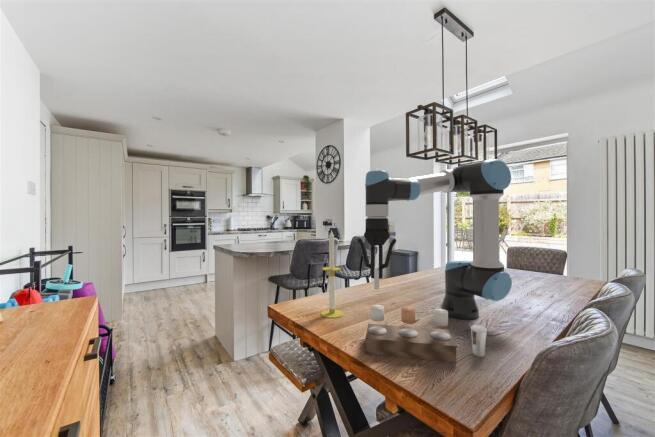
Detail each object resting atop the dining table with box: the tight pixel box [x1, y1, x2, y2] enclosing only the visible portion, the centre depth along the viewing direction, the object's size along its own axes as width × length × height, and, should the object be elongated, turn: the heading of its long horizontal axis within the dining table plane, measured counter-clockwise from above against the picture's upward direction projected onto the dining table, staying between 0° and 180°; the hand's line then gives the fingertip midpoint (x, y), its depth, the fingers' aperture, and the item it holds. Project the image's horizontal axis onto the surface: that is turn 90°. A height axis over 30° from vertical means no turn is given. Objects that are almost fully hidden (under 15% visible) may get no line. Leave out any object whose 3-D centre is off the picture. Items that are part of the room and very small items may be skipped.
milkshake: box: [468, 323, 488, 358], centre depth 90 cm, size 4×5×10 cm
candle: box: [320, 229, 344, 319], centre depth 126 cm, size 10×10×38 cm
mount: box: [364, 323, 457, 364], centre depth 94 cm, size 27×12×5 cm, turn 77°
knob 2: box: [432, 308, 449, 327], centre depth 92 cm, size 4×4×4 cm
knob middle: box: [400, 306, 416, 325], centre depth 94 cm, size 4×4×4 cm
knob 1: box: [370, 304, 385, 322], centre depth 96 cm, size 4×4×4 cm
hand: (376, 288), depth 96 cm, fingers closed
